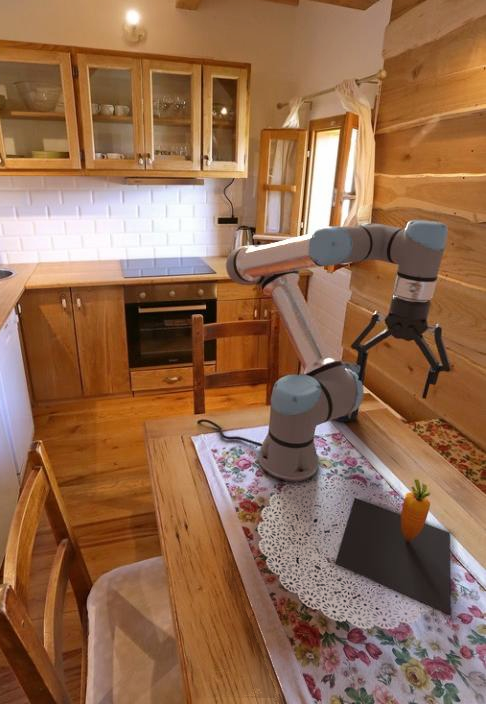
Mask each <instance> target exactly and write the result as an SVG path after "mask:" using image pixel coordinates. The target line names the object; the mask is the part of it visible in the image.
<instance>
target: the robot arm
mask: <svg viewBox="0 0 486 704" xmlns="http://www.w3.org/2000/svg"><path fill="white" fill-rule="evenodd" d="M448 233H449V227H448V226H447V224H446V223H443V222H439V221H431V220H421V219H412V220H410V221H408V223H407V224H406V227H405V228H403V227H397V226H393V225H387V224H381V223H379V222H362V223H361V224H359V225H354V226H353V225H352V226H351V225H350V226H349V225H348V226H347V225H346V226H338V225H332V226H325V227H320V228H318V229H316V230H315V231H314V232H311V233H308V234H305V235H300V236H297V237H292V238H288V239H285V240H281V241H277V242H273V243H270V244H269V243H268V244H253V245H243V246H239V247H238V246H237V248H234V249H233V250H232V251H231V252H230V253H229V254H228V256H227V258H226V261H225V269H226V273H227V275H228V277H229V278H230V279H231V281H232V282H234V283H236V284H238V285H241V286H257V285H259V286H260V289H261V290H262V293H263V294H264V295H266V296H268V297H270V298H271V300H272V302H273V305H274V306H275V309H276V311H277V314H278V315H279V318H280V320H281V322H282V325H283V326H284V329H285V331H286V333H287V336H288V338H289V340H290V342H291V344H292V346H293V349H294V351H295V353H296V355H297V357H298V359H299V362H300V364H301V367H302V369H303V371H302V373H300V374H296V373H292V374H287V375H284V376H282V377H280V378H279V379H277V380H276V381H275V383H274V385H273V387H272V393H271V396H270V408H269V422H268V430H267V433H266V436H265V438H264V440H263V442H262V443H261V442H259V441H256V440H252V439H249V438H245V437H243V436H228V435H225V434H224V430H223V427H222V426H220V425H219V424H217V423H216V422H214V421H212V420H209V419H205V418H202V419H198V420H197V421H196V423H198V424H199V423H208V424H210V425H212V426H214V427H215V428H217V429H218V430H219V432H220V436H221V437H222V438H223V439H225V440H240V441H244V442H246V443H249V444H253V445H255V446H259V447H260V449H259V453H258V462H259V465H260V466H261V468H262V469H263V471H264V472H266V473H267V474H268V475H269V476H272V478H275V479H278V480H281V481H285V482H295V483H296V482H297V483H298V482H303V481H306V480H309V479H310V478H312V477H314V475H315V474H316V472H317V470H318V464H319V462H318V461H319V460H318V459H319V458H318V454H317V448H316V445H315V441H314V440H315V434H316V427H318V426H320V425H322V424H324V423H327V422H331V421H333V420H337V419H336V418H339V417H341V416H346V415H348V414H349V413H351V412H353V411H355V410H356V409H358V408H359V409H360V406H361V405H362V404H363V398H364V394H365V391H364V384H363V385H362V382H361V381H362V379H363V377H364V373H365V374H366V366H367V362H368V357H369V350H370V349H372V348H373V347H375V346H376V345H378V344H379V343H380V342H383V340H385V339H388V338H389V337H391V336H392V337H393V338H394V339H397V340H403V341H406V342H411V341H414V343H415V344H416V346H418V348H419V350H420V351H421V353H422V355H423V357H425V360H426V361H427V363H428V365H430V366H429V368H428V372H427V376H426V380H425V382H424V383H425V384H424V386H423V392H422V396H421V398H422V399H425V400H427V397H428V392H429V389H430V385H433V386H436V384H437V382H438V378H439V374H440V373H441V372H446V373H449V372H451V366H452V365H451V361H450V358H449V355H448V351H447V347H446V344H445V341H444V338H443V334H442V333H443V325H442V324H441V323H437V324H430V323H428V317H429V314H430V309H431V306H432V302H431V299H433V297H434V293H435V289H436V286H437V282H438V280H437V279H438V275H439V271H440V268H441V263H442V260H443V256H444V252H445V250H446V247H447V245H446V244H447V238H448ZM372 261H373V262H374V261H379V262H386V263H389V264H393V265H397V266H398V267H397V272H396V277H395V281H394V286H393V291H392V293H393V295H392V296H391V300H390V304H389V310H388V314H387V315H386V314H381V313H380V311H375V312H374V313H373V314H372V316H371V319H370V321H369V323H367V325H366V326H365V328H364V329H363V330H362V331H361V332H360V334H358V336H357V337H356V338H355V339H354V340H353V342H352V343H351V345H350V347H351V350H355V351H356V352H357V357H356V362H355V364H356V365H359V366H360V372H359V376H358V375H357V374H356V373H355V372H352V370H350V369H345V368H344V366H343V364H342V362H343V361H342V360H341V359H340V358H336V357H334V356H333V354H332V352H331V350H330V348H329V346H328V345H327V342H326V340H325V338H324V336H323V334H322V332H321V330H320V328H319V325H318V323H317V321H316V319H315V317H314V316H313V315H314V314H313V313H312V311H311V309H310V307H309V304H308V303H307V301H306V299H305V296H304V295H303V293H302V290H301V289H300V286H299V284H298V283H299V281H300V278H301V277H300V273H301V271H303V270H309V269H315V268H316V269H317V268H321V267H330V266H331V267H332V266H337V265H343V264H352V263H362V262H372ZM382 322H384V323H385V325H386V328H385V329H384V330H381V332H379V333H378V334H376V335H374V336H373V337H372V338H371V339H369V340H367V341H366V342H364V343H363V344H361V343H362V342H363V341H364V340H365V338H367V336H368V335H369V333H370V332H371V331H372V330H373V329H374V328H375V326H376V325H380V324H381V323H382ZM427 331H429V332H430V335H431V336H433V337H434V342H435V345H436V349H437V353H438V356H439V358H440V362H439V360H438V358H437V357H436V355H435V353H434V352H433V351H432V349H431V347H430V346H429V344H428V342H427V341H426V340H425V337H424V335H423V334H424V333H426V332H427Z"/></svg>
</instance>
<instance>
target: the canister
mask: <svg viewBox="0 0 486 704" xmlns="http://www.w3.org/2000/svg"><path fill="white" fill-rule="evenodd" d="M341 362H342V364H343V366H344V368H345V369H350V370H352V372H355V373H356V374H357V375H358V376H359V372H360V367H361V366H359V365H357V363H353V362H349V361H348V362H347V361H344V362H343V361H341ZM365 378H366V372H365V373H364V377H363V379H362V381H361V382H362V385H363V386H364V383H365ZM359 409H360V407H359V408H358V409H356V410H355V411H353V412H351V413H349V414H348V415H346V416H341V417H339V418H336V419H335V420H338V421H340V422H352V421H354V420H356V419H357V418H358V414H359Z"/></svg>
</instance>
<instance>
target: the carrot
mask: <svg viewBox="0 0 486 704" xmlns="http://www.w3.org/2000/svg"><path fill="white" fill-rule="evenodd" d="M413 479H414V484H415V486H414V485H411V486H410V487H411V489H412V491H410V492H406V493H405V496H404V498H403V501H402V502H403V503H402V508H401V513H400V514H401V529H402V533H403V536H404V538H405V540H406V541H411V540H413V539H414V538H415V537H416V536H418V534H419V533H420V531H421V530H422V528H423V526H424V524H426V520H427V518H428V515H429V512H430V507H431V502H430V500H428V498H427V497H429V496H430V495H431V492H430V491H428V490H427V489H428V488H427V487H428V486H427V484H426V483H422V487H421V483H420V479H419V478H416V477H415V478H413Z"/></svg>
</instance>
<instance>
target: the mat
mask: <svg viewBox="0 0 486 704" xmlns="http://www.w3.org/2000/svg"><path fill="white" fill-rule="evenodd" d="M450 533H451V532H449V531H446V530H444V529H441V528H439V527H437V526H434V525H432V524H428V523H425V524H424V526H423V528H422V530H421V531H420V533H419V534H418V536H416V537H415V538H414V539H413V540H411V541H406V540H405V538H404V536H403V533H402V529H401V513H398V512H396V511H393V510H390V509H387V508H385V507H382V506H379V505H377V504H374V503H371V502H369V501H366V500H363V499H361V498H358V497H354V498H353V501H352V505H351V508H350V511H349V515H348V518H347V522H346V525H345V529H344V532H343V535H342V539H341V542H340V546H339V549H338V552H337V557H336V559H335V563H334V564H336V565H337V566H340V567H343V568H345V569H347V570H349V571H351V572H353V573H355V574H357V575H360V576H362V577H365V578H366V579H369V580H371V581H373V582H376V583H378V584H380V585H382V586H385V587H387V588H389V589H392V590H393V591H396V592H398V593H400V594H402V595H405V596H408V598H411V599H414V600H416V601H418V602H420V603H422V604H425V605H427V606H429V607H431V608H433V609H436V610H438V611H441V612H442V613H445V614H447V615H449V616H451V539H450V538H451V535H450Z"/></svg>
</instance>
